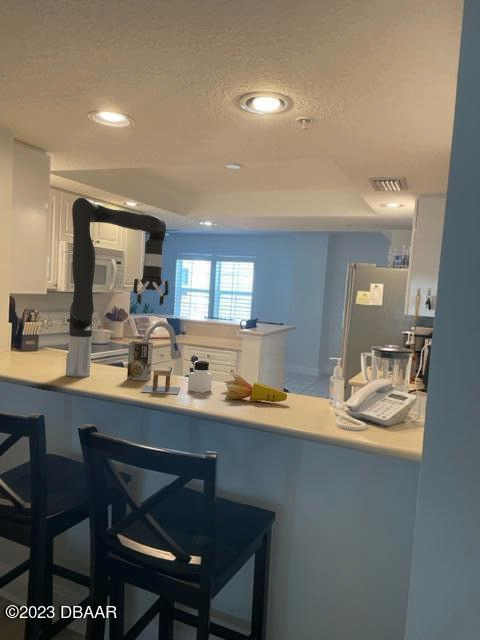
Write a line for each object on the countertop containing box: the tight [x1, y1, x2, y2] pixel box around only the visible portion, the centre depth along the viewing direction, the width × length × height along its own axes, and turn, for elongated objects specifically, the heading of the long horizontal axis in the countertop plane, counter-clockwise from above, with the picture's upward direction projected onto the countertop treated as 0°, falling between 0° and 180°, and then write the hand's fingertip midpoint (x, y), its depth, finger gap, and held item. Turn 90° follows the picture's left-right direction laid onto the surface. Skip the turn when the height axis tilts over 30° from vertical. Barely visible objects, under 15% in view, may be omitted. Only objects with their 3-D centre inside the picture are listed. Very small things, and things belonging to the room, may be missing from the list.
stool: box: [152, 367, 172, 391], centre depth 179 cm, size 6×6×8 cm
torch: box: [219, 372, 288, 403], centre depth 172 cm, size 8×8×25 cm
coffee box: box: [126, 341, 154, 382], centre depth 198 cm, size 9×6×16 cm
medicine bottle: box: [187, 360, 213, 394], centre depth 183 cm, size 7×7×12 cm
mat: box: [140, 384, 181, 396], centre depth 179 cm, size 14×12×1 cm
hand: (150, 304), depth 189 cm, fingers open, 8 cm apart
